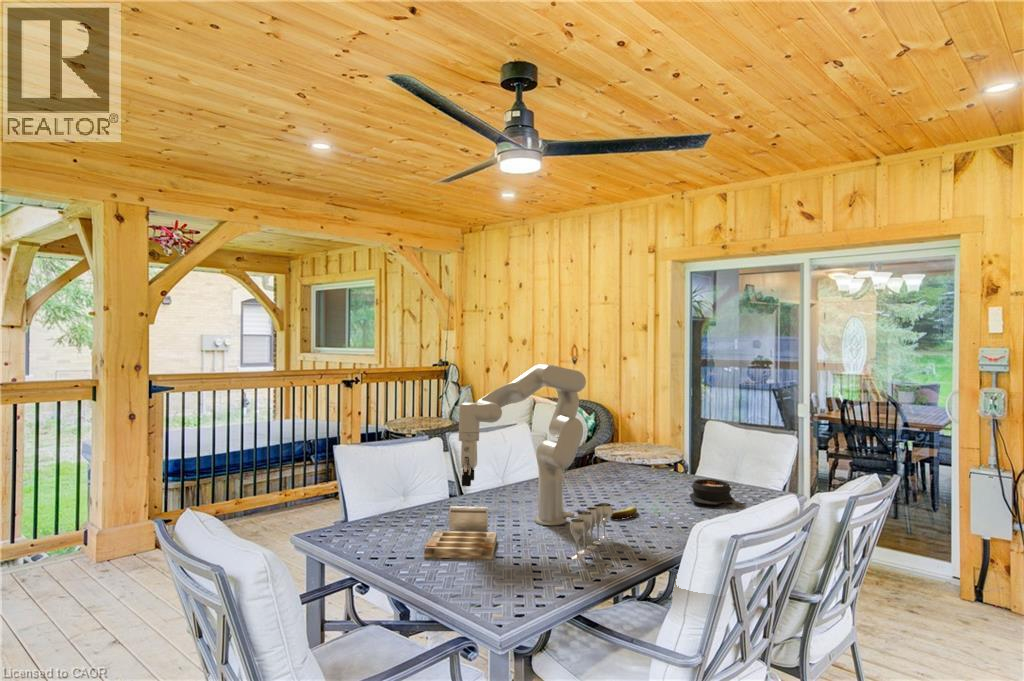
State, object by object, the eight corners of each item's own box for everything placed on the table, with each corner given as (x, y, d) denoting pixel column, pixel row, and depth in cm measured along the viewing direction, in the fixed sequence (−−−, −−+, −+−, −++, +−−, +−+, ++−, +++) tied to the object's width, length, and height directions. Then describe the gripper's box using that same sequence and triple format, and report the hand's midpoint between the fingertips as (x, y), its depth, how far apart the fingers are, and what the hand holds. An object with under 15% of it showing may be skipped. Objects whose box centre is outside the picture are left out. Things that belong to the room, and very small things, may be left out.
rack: (496, 540, 208) (496, 531, 208) (491, 559, 190) (491, 548, 190) (435, 539, 210) (435, 530, 210) (424, 557, 192) (424, 547, 192)
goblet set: (582, 561, 189) (582, 519, 189) (565, 557, 192) (565, 516, 192) (615, 537, 213) (615, 500, 213) (600, 534, 216) (600, 498, 216)
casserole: (699, 493, 278) (699, 475, 279) (740, 499, 268) (740, 480, 268) (680, 504, 258) (680, 485, 258) (724, 511, 247) (724, 491, 247)
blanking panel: (488, 532, 218) (488, 506, 218) (487, 534, 215) (487, 508, 215) (450, 531, 218) (450, 506, 219) (449, 534, 216) (449, 508, 216)
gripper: (476, 440, 208) (475, 488, 208) (481, 433, 226) (480, 478, 225) (455, 439, 209) (454, 488, 208) (462, 432, 226) (461, 477, 226)
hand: (468, 483), depth 217 cm, fingers open, 9 cm apart
